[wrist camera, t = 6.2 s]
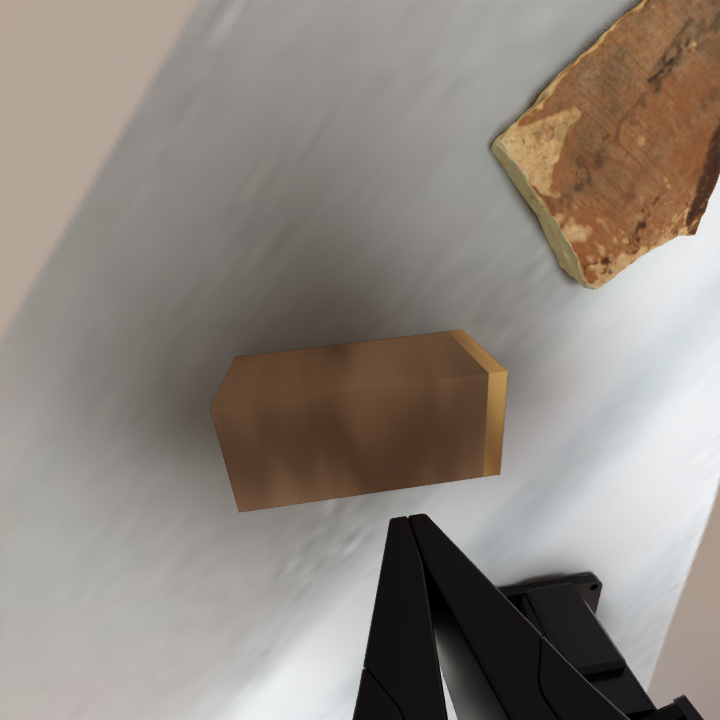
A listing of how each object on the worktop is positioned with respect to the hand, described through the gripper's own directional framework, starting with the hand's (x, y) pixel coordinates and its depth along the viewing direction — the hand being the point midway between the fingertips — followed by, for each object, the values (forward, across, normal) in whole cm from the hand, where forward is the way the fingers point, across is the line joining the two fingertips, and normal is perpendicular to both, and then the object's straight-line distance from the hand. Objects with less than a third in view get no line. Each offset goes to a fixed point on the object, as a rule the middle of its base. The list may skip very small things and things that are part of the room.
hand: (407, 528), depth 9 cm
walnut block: (+6, -4, 0) cm, 7 cm away
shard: (+8, -9, -9) cm, 15 cm away
